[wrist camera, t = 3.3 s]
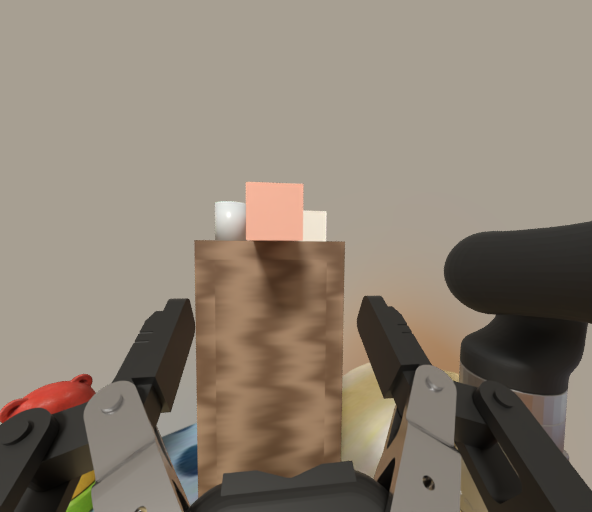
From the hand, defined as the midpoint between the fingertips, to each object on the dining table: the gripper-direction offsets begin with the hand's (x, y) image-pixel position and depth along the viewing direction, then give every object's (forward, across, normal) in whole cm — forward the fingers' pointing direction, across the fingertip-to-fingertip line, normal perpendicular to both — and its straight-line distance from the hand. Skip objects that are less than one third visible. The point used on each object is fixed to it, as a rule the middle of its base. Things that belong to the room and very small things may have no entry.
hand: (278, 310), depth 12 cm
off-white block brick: (+22, -5, +9) cm, 24 cm away
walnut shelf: (+5, 0, +36) cm, 36 cm away
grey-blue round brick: (+22, +5, +9) cm, 24 cm away
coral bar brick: (+17, 0, +6) cm, 18 cm away
